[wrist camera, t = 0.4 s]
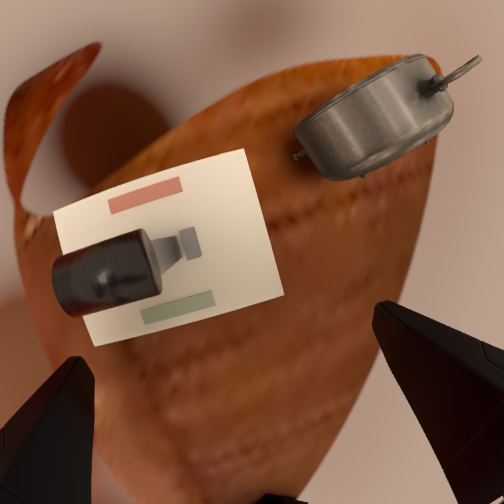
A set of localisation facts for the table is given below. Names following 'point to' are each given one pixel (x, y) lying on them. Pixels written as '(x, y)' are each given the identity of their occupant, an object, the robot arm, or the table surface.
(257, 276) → the switch box
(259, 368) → the table surface
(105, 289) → the breaker lever
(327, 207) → the table surface
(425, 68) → the alarm clock
